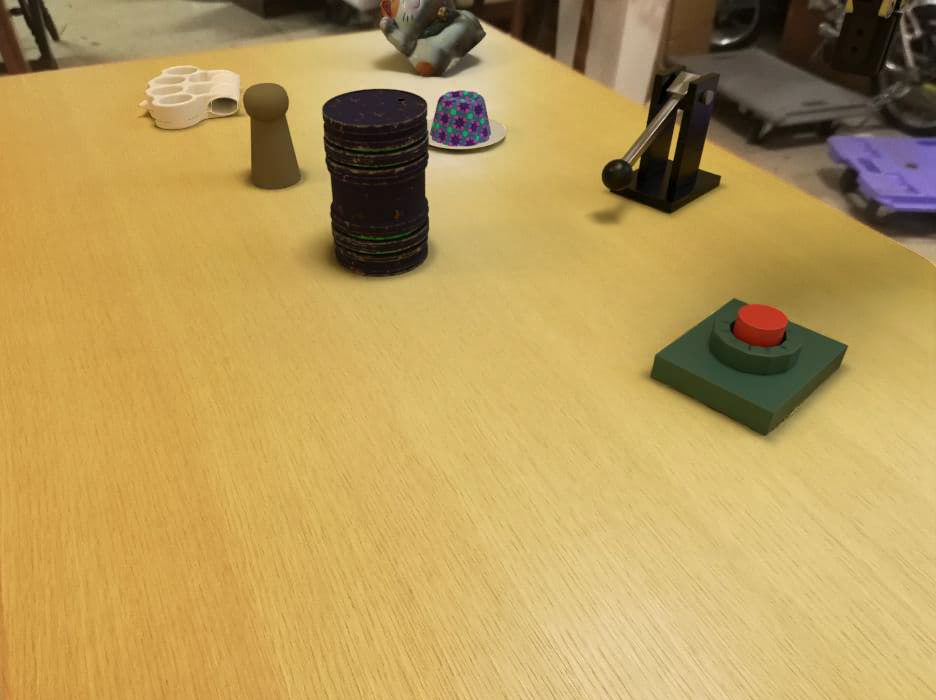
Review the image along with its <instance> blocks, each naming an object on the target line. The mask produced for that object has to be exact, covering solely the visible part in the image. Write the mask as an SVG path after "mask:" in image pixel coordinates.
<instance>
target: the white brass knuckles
mask: <svg viewBox="0 0 936 700" xmlns="http://www.w3.org/2000/svg"><path fill="white" fill-rule="evenodd" d="M146 84H147V88H146V89H144V90H142V92H141V93H142V94H143V95H145V99H144V100H142V101H141V102H140V103H139V104H137V107H139V108H141V109H145V110H148V109H150V110H153V112H152V111H150V110H148V111H149V114H150V116H151V117H152V118H153V119H154V121H155V125H156V127H158V128H160V129H163V130H182V129H188V128H191V127H194V126H195V125H197V124H198V123H200V122H201V121H204V120H207V119H218V118H223V117H227V116H231V115H233V114H235V113H236V112H238V110H240V109H241V103H240V102H241V95H242V93H241V85H242V80H241V75H240V74H238V73H236V72H234V71H232V70H227V69H210V70H207V69H201V68H200V67H198V66H194V65H175V66H170V67H167V68H164V69H162V70H161V71H160V74H159V75H158V76H156V77H153V78H152V79H151V80H149V81H148V82H147V83H146ZM212 100H213V101H212ZM211 101H212V111H211V112H205V111H210V109H211V108H210V107H211ZM237 102H238V110H237ZM239 108H240V109H239ZM203 112H205V113H203ZM199 113H202V114H199ZM198 114H199V115H198ZM197 115H198V116H197ZM196 116H197V117H196ZM194 117H195V118H194ZM192 118H193V119H192ZM155 119H157V120H159V121H163V122H159V121H157V120H155ZM188 119H191V120H188ZM185 120H188V121H185ZM179 121H184V122H179ZM164 122H177V123H164Z"/></svg>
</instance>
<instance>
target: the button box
mask: <svg viewBox="0 0 936 700" xmlns="http://www.w3.org/2000/svg"><path fill="white" fill-rule="evenodd" d="M749 304H750V303H747V302H745V301H742V300H740V299H737V298H735V297H733V298H731V300H729V301H728V302H726V303H725V304H723V305H722V306H720V307H719V308H718V309H716V310H715V311H714V312H713V313H711V314H710V315H708V316H707V317H705V318H704V319H703V320H701V321H700V322H698V323H697V324H696V325H694V326H693V327H692V328H690V329H689V330H687V331H686V332H685V333H683V334H682V335H680V336H679V337H678V338H677V339H675V340H674V341H672V342H670V343H669V344H668V345H666V346H665V347H664V348H662V349H661V350H660V351H658V352H657V353H655V355H654V358H653V363H652V367H651V370H650V371H651V372H650V377H651V378H654V379H656V381H658V382H661V383H663V384H665V385H667V386H669V387H671V388H673V389H675V390H677V391H679V392H681V393H682V394H684V395H686V396H687V397H688V396H689V397H690V398H692V399H694V400H696V401H699V402H700V403H702V404H704V405H706V406H708V407H710V408H711V409H714V410H716V411H717V412H720V413H722V414H724V415H725V416H727V417H729V418H731V419H733V420H735V421H737V422H739V423H741V424H742V425H745V426H747V427H749V428H751V429H753V430H754V431H757V432H758V433H760V434H763V435H765V436H767V435H768V434H769V433H770V432H771V431H772V430H773V429H774V428H775V427H777V425H778V424H780V423H781V422H782V421H783V419H785V418H786V417H788V415H789V414H791V413H792V411H794V410H795V409H796V408H797V407H798V406H800V404H802V402H803V401H804V400H806V399H807V398H808V397H809V396H810V395H812V393H814V391H815V390H817V389H818V388H819V387H820V386H821V385H822V384H823V383H824V382H825V381H826V380H827V379H829V378H830V377H831V376H832V375H833V374H834V373H835V372H836V371H837V370H839V369H840V367H841V365H842V363H843V360H844V358H845V355H846V353H847V351H848V348H849V345H848V344H847V343H844V342H841V341H839V340H837V339H834V338H831V337H829V336H827V335H824V334H822V333H820V332H817V331H816V330H815V331H814V330H812V329H810V328H807V327H805V326H803V325H800V324H798V323H795V322H793V321H791V320H790V319H788V323H787V326H786V329H785V332H784V335H783V338H782V340H781V342H780V343H779V344H778V345H776V346H773V347H767V348H765V347H759V346H752V345H750V344H747V343H745V342H743V341H741V340H738V339H737V338H736V337H735V335H734V333H733V328H734V325H735V321H736V318H737V315H738V312H739V310H740V309H741V308H742V307H743V306H745V305H749Z"/></svg>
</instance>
